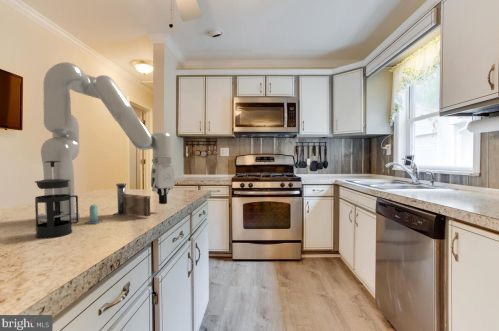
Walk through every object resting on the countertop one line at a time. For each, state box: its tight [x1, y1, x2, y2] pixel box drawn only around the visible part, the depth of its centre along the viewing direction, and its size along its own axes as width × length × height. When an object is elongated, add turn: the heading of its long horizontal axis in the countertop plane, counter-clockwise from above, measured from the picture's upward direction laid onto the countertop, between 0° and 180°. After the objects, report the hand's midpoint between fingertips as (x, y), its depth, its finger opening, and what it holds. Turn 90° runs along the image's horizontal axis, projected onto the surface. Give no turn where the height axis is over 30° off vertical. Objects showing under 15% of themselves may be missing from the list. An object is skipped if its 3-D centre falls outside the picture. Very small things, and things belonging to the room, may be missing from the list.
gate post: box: [112, 182, 128, 216], centre depth 113 cm, size 5×5×13 cm
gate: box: [123, 193, 151, 217], centre depth 109 cm, size 14×2×8 cm, turn 62°
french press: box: [34, 161, 80, 240], centre depth 84 cm, size 12×9×23 cm
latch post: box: [84, 204, 103, 225], centre depth 98 cm, size 4×4×7 cm
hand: (162, 203), depth 117 cm, fingers closed
